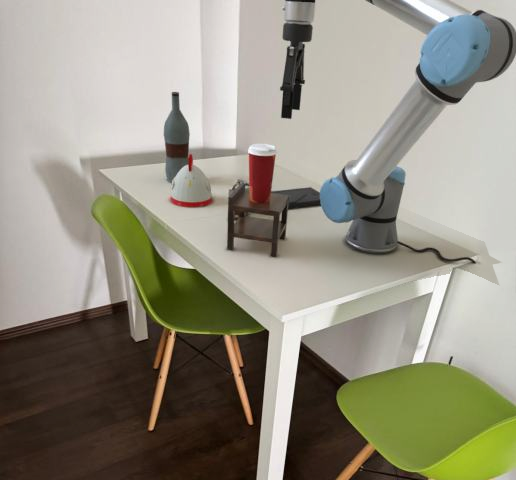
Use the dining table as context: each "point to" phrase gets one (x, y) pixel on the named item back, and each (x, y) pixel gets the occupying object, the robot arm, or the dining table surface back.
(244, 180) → the food container
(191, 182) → the kitchen timer
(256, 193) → the paper cup
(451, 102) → the robot arm
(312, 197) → the picture frame
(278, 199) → the rack
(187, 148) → the bottle
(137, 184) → the dining table surface
